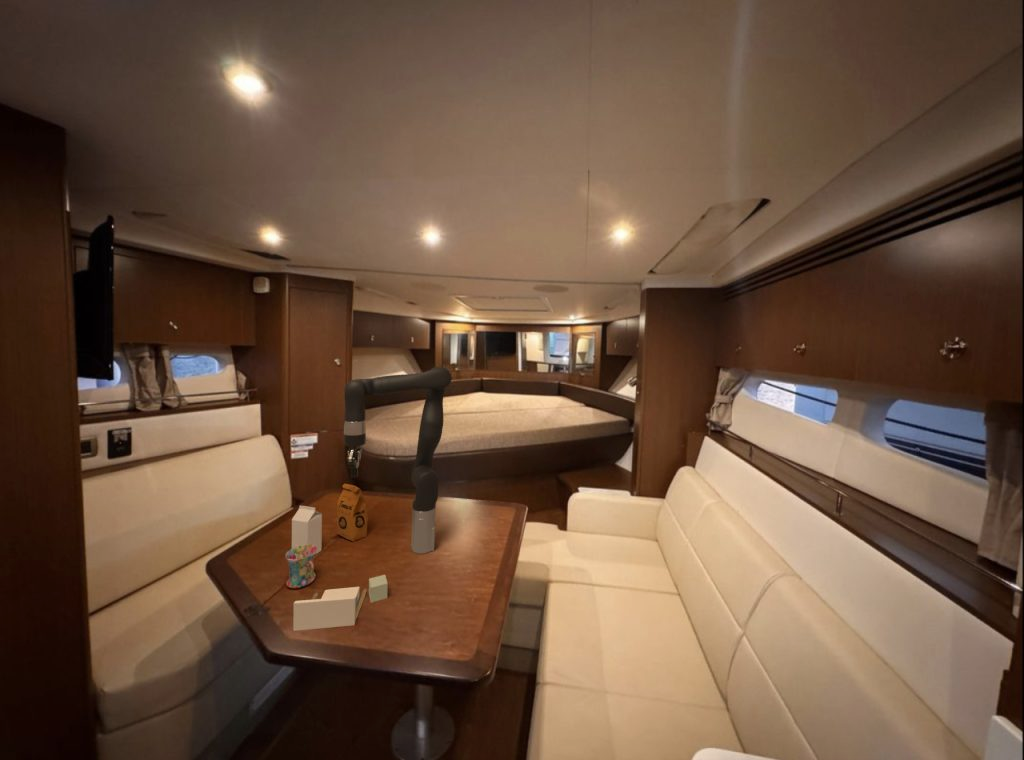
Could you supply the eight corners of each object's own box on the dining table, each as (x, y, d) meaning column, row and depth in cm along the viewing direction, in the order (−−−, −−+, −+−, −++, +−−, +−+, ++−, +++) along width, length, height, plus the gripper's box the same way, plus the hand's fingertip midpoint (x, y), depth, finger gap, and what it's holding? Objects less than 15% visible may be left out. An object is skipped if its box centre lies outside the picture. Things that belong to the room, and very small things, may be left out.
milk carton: (307, 561, 125) (307, 511, 124) (291, 558, 127) (291, 509, 126) (321, 550, 132) (322, 504, 131) (306, 548, 133) (306, 501, 133)
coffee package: (349, 545, 137) (350, 492, 136) (333, 535, 144) (334, 485, 143) (371, 535, 145) (372, 486, 144) (354, 526, 152) (355, 479, 151)
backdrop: (355, 622, 97) (355, 596, 97) (354, 625, 96) (354, 598, 96) (295, 628, 94) (295, 600, 94) (293, 630, 93) (293, 603, 93)
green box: (384, 588, 112) (385, 574, 112) (387, 598, 108) (387, 583, 107) (368, 593, 109) (369, 578, 109) (370, 603, 105) (370, 587, 105)
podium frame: (366, 591, 110) (366, 588, 110) (355, 621, 97) (355, 618, 97) (314, 595, 107) (314, 592, 107) (295, 626, 95) (295, 624, 95)
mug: (279, 584, 112) (279, 553, 111) (308, 570, 120) (308, 541, 119) (297, 598, 106) (297, 566, 105) (326, 582, 114) (327, 552, 113)
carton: (359, 600, 106) (359, 586, 106) (353, 619, 99) (353, 604, 98) (325, 603, 104) (325, 589, 104) (315, 623, 96) (316, 608, 96)
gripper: (360, 436, 120) (360, 483, 121) (369, 428, 133) (368, 471, 134) (338, 436, 119) (338, 483, 119) (349, 428, 132) (348, 471, 132)
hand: (354, 477), depth 127 cm, fingers closed
